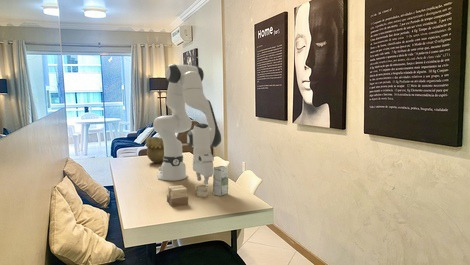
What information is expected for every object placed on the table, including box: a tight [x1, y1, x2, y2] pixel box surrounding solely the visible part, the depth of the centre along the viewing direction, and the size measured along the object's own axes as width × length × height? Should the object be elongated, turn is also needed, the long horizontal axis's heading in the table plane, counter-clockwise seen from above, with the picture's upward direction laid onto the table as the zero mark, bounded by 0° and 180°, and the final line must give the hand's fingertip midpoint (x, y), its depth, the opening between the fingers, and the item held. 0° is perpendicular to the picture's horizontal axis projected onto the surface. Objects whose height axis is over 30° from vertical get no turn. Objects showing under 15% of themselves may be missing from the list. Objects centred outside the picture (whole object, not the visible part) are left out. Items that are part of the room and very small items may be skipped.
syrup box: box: [212, 165, 229, 197], centre depth 185 cm, size 6×6×14 cm
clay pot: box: [145, 136, 164, 164], centre depth 267 cm, size 21×21×20 cm
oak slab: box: [167, 184, 188, 199], centre depth 169 cm, size 7×7×4 cm
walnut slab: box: [166, 194, 189, 208], centre depth 169 cm, size 8×8×4 cm
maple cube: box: [194, 184, 209, 198], centre depth 183 cm, size 5×5×5 cm
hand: (202, 182), depth 182 cm, fingers open, 8 cm apart
